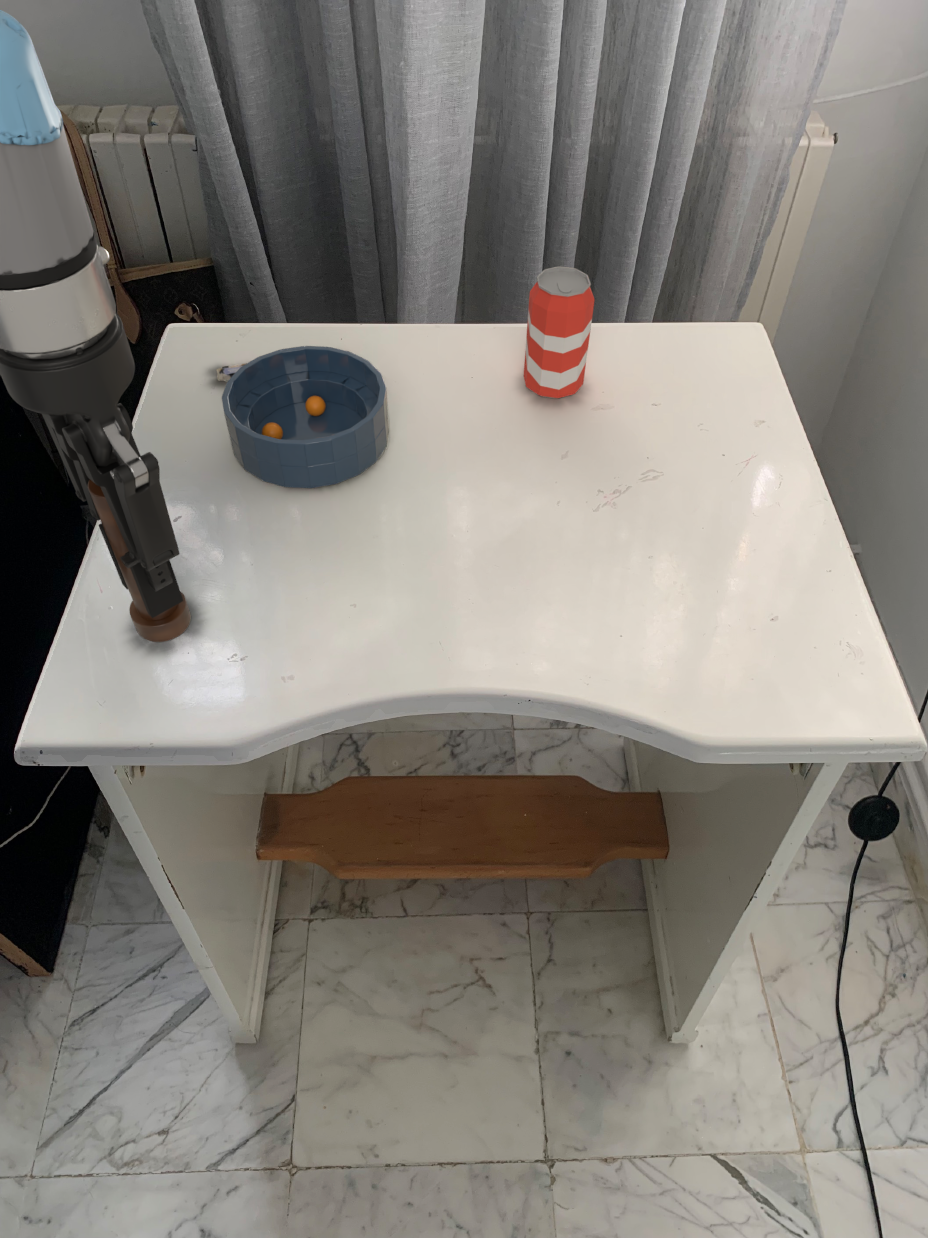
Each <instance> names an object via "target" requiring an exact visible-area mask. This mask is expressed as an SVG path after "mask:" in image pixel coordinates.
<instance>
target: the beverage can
mask: <svg viewBox="0 0 928 1238" xmlns="http://www.w3.org/2000/svg"><path fill="white" fill-rule="evenodd" d="M591 285H592V283H591V280H590V277H589V274H588V273H585V272H583V271H582V270H580V269H578V268H575V267H568V266H559V265H558V266H555V267H549V268H545V269H543V270H542V271H541V272H540V273H539V274H538V275H537V276H536V282H535V284H534V285H533V286H532V288H531V289H530V290H529V296H528V309H527V310H528V311H527V321H526V323H527V325H526V337H525V349H524V350H525V351H524V361H523V362H524V364H523V380H524V383H525V387H526V389H528V390H530V391H531V392H533V393H535V394H536V395H538V396H541V397H542V398H548V399H554V400H557V399H560V398H564V397H569V396H572V395H576V393H577V392H578V391H579V390H580V388H582V386H583V385H584V381H585V373H586V368H587V367H586V366H587V359H588V351H589V345H590V337H591V329H592V322H593V314H594V307H595V296H594V293H593V291H592V288H591Z"/></svg>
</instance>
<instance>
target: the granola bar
mask: <svg viewBox="0 0 928 1238" xmlns="http://www.w3.org/2000/svg"><path fill="white" fill-rule="evenodd" d="M247 363H248V362H245V363H238V364H231V365H225V366H222V367H219V368H216V369H215V370H216V378H217V381H219V382H220V381H221V382H223V381H224V382H225V383H227V382H228V380H229V379H230V378H231V377H232V376H233V375H234V374H235V373H236V372H237V371H238V369H239V368H240V367H242V366H244V365H245V364H247Z"/></svg>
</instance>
